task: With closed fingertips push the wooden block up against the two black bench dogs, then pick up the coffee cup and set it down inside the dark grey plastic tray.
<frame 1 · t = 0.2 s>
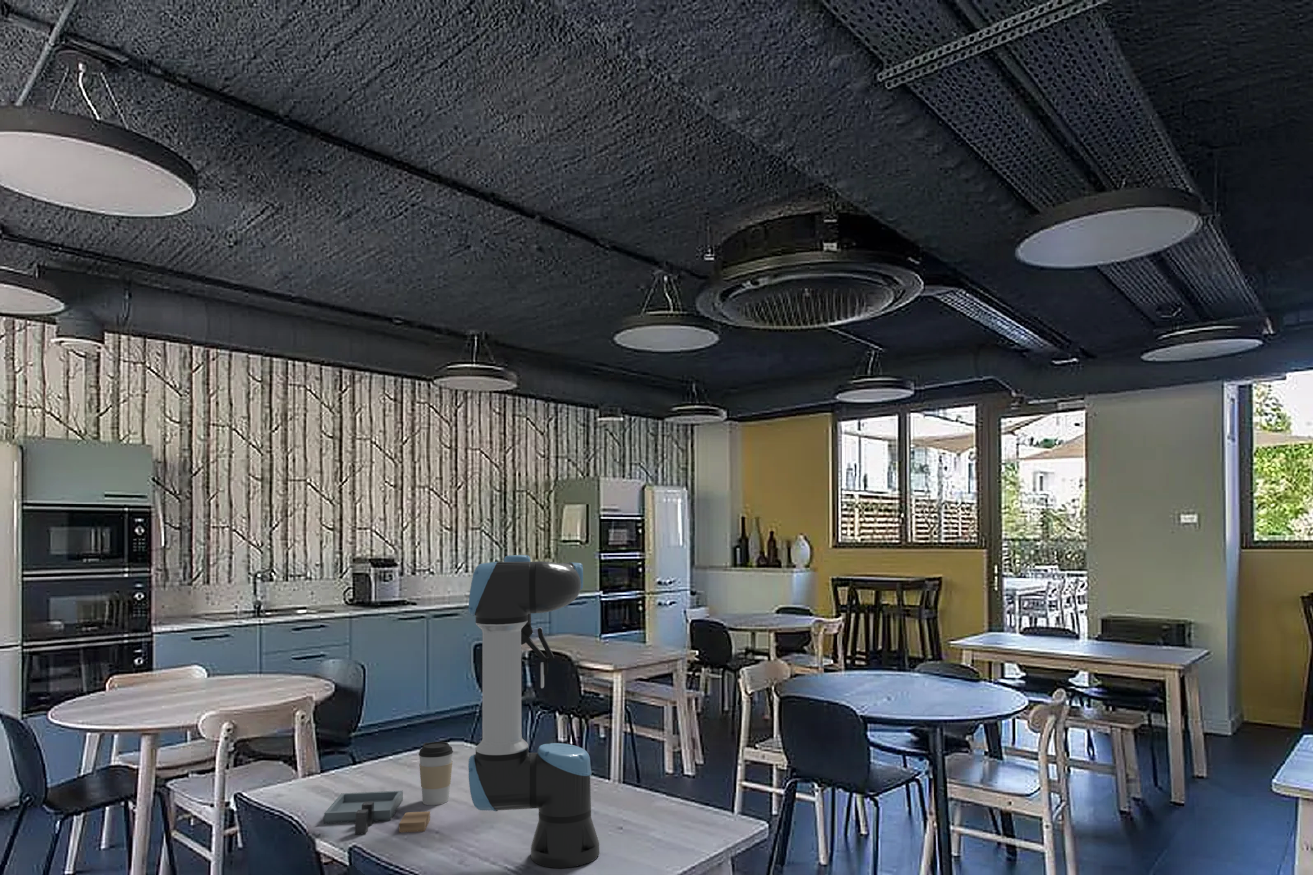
hand: (517, 688, 244), 28 cm above the table, fingers open, 13 cm apart
coffee cup: (435, 801, 234), on the table
wooden block: (414, 827, 215), on the table
bench dogs: (364, 828, 214), on the table
tray: (364, 811, 227), on the table
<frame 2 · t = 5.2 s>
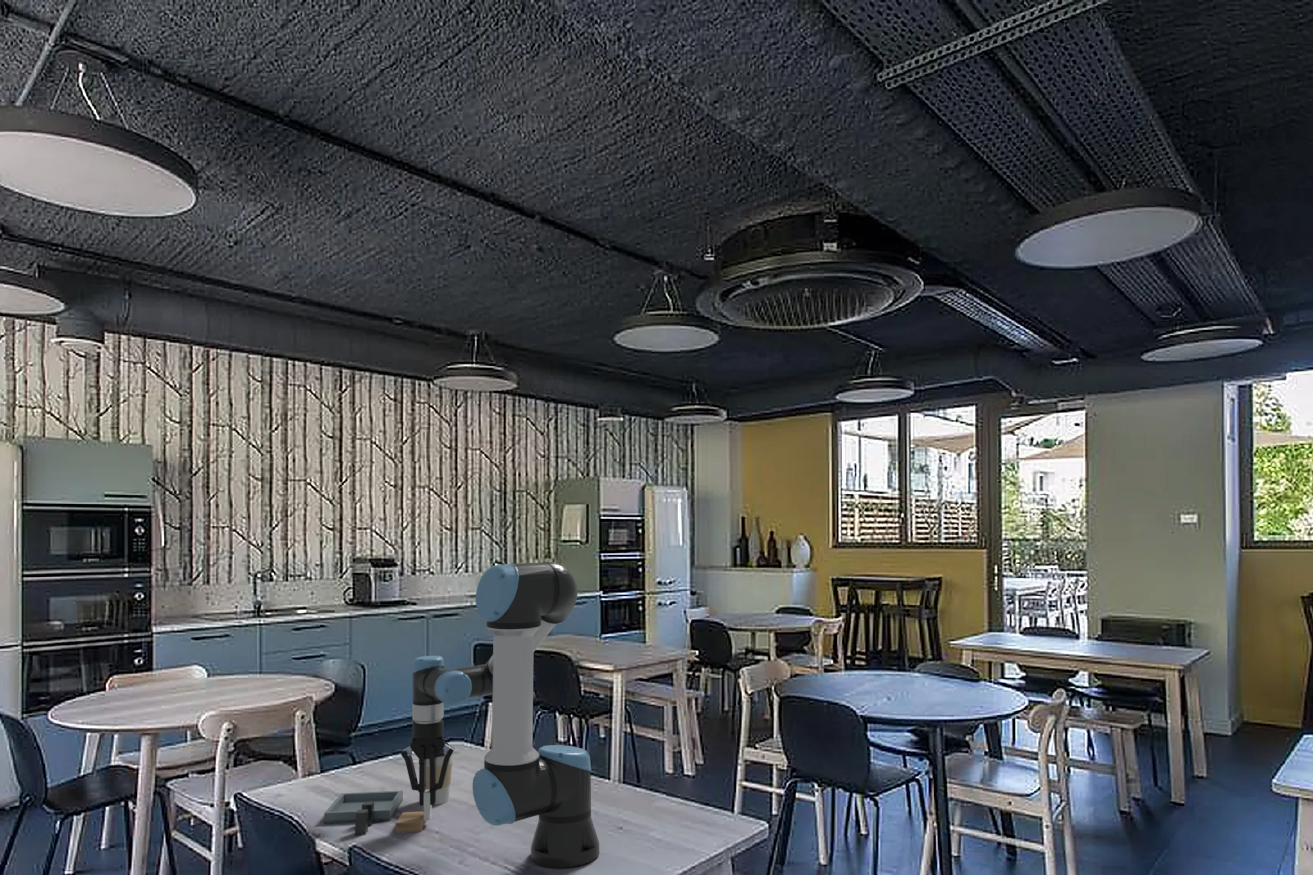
hand: (427, 818, 216), 2 cm above the table, fingers closed
nothing on the table moved.
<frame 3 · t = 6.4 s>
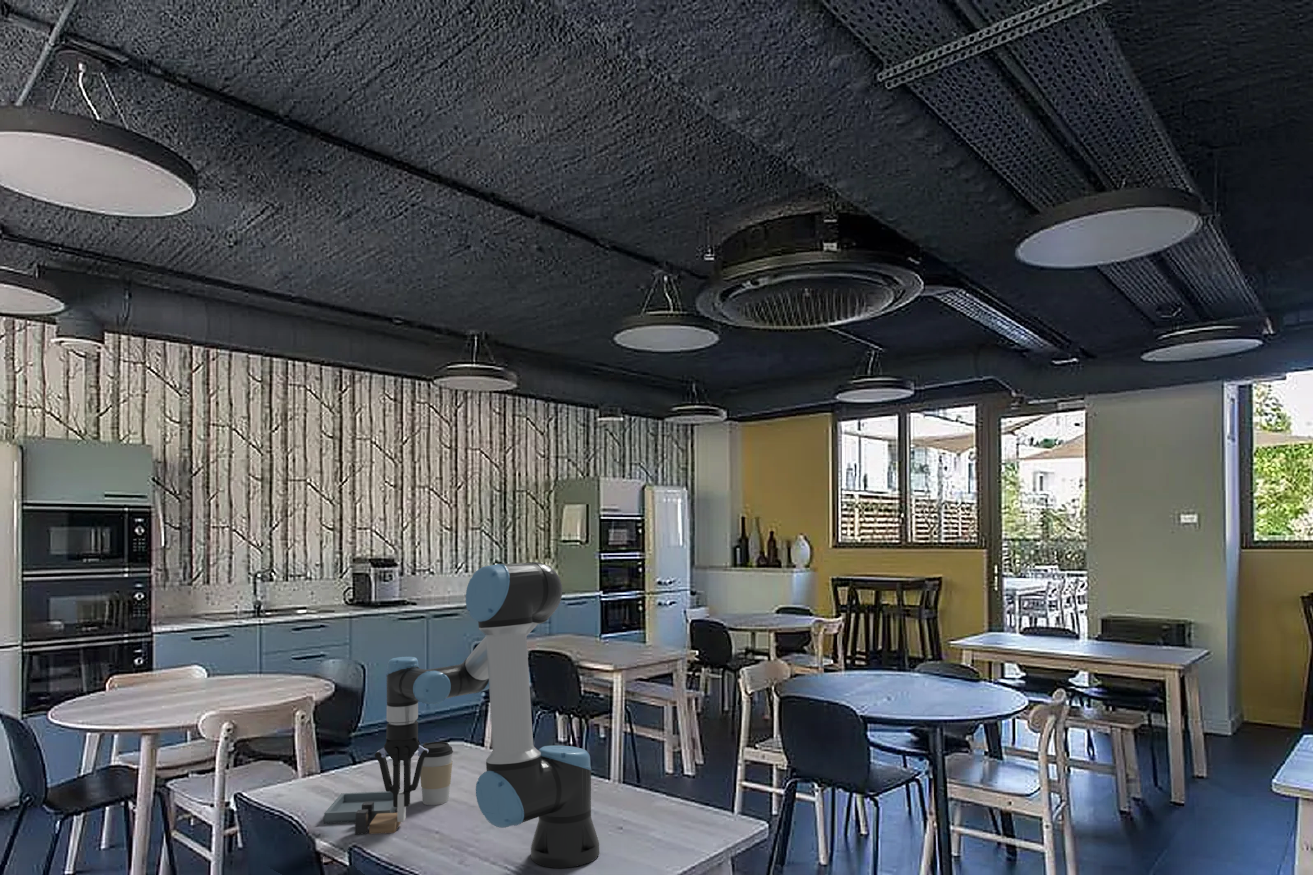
hand: (401, 820, 215), 2 cm above the table, fingers closed
wooden block: (385, 829, 215), on the table
everything else where it was.
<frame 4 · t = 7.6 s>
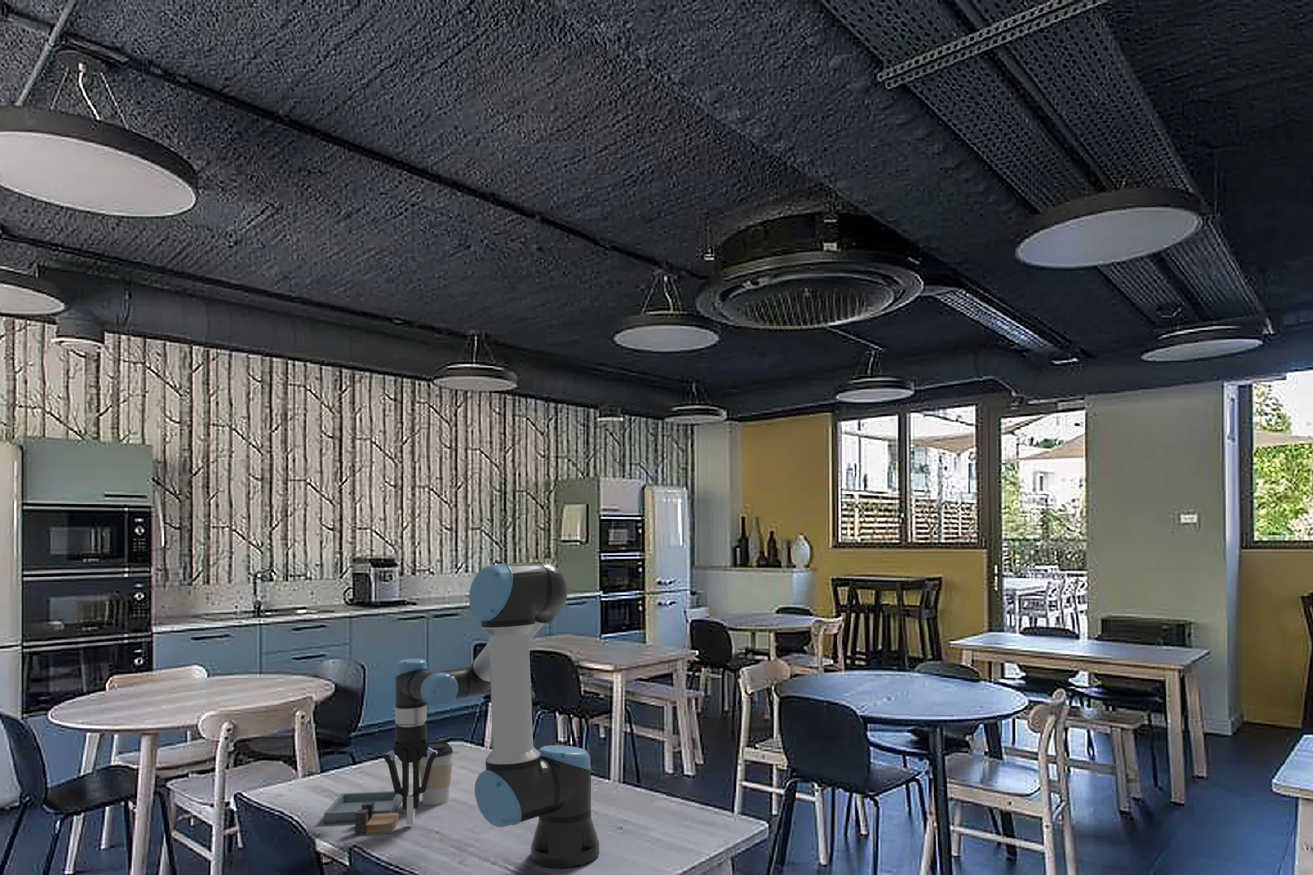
hand: (410, 822, 215), 1 cm above the table, fingers closed
nothing on the table moved.
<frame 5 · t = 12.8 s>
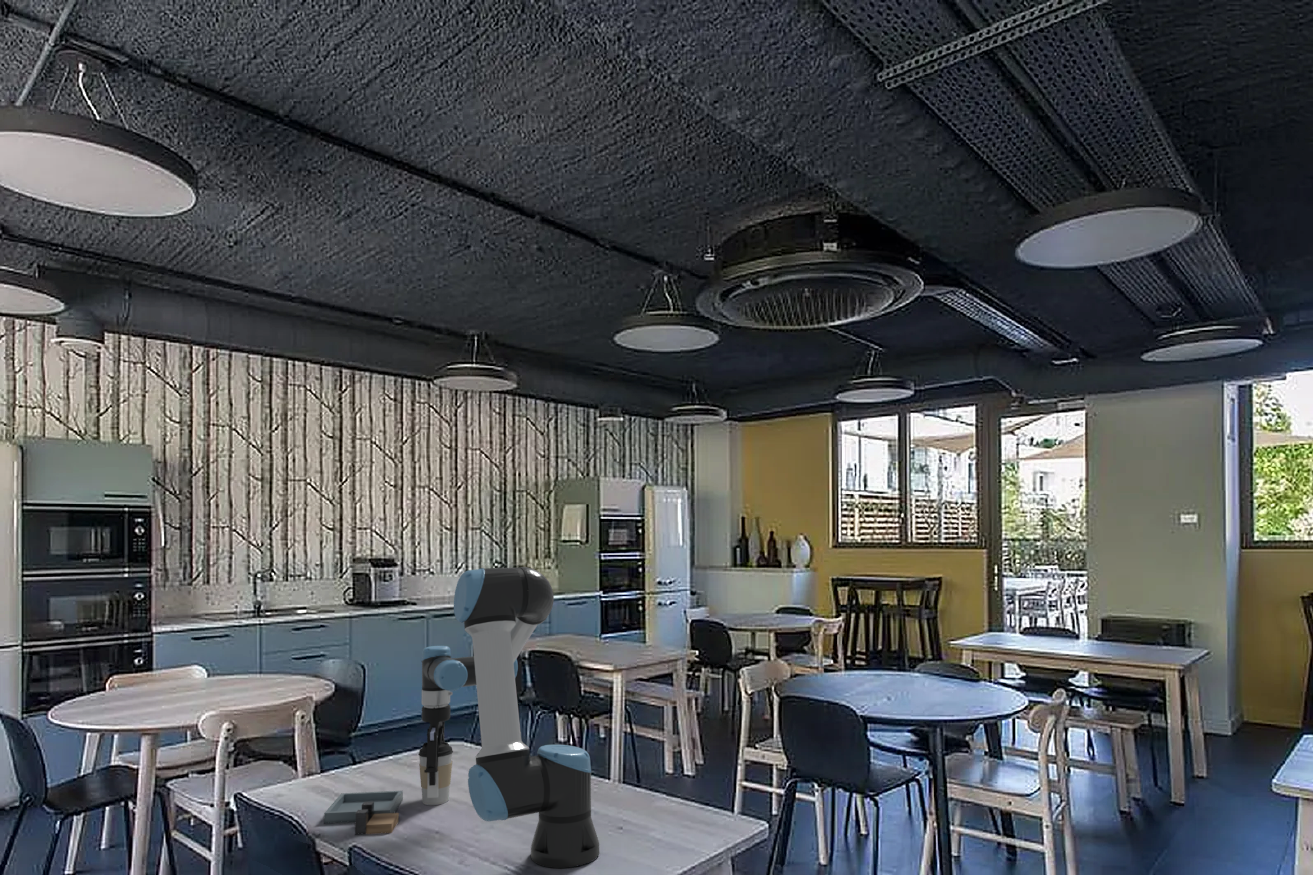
hand: (435, 791, 234), 2 cm above the table, fingers closed on coffee cup, 9 cm apart
coffee cup: (435, 801, 234), on the table, touching gripper
everything else where it was.
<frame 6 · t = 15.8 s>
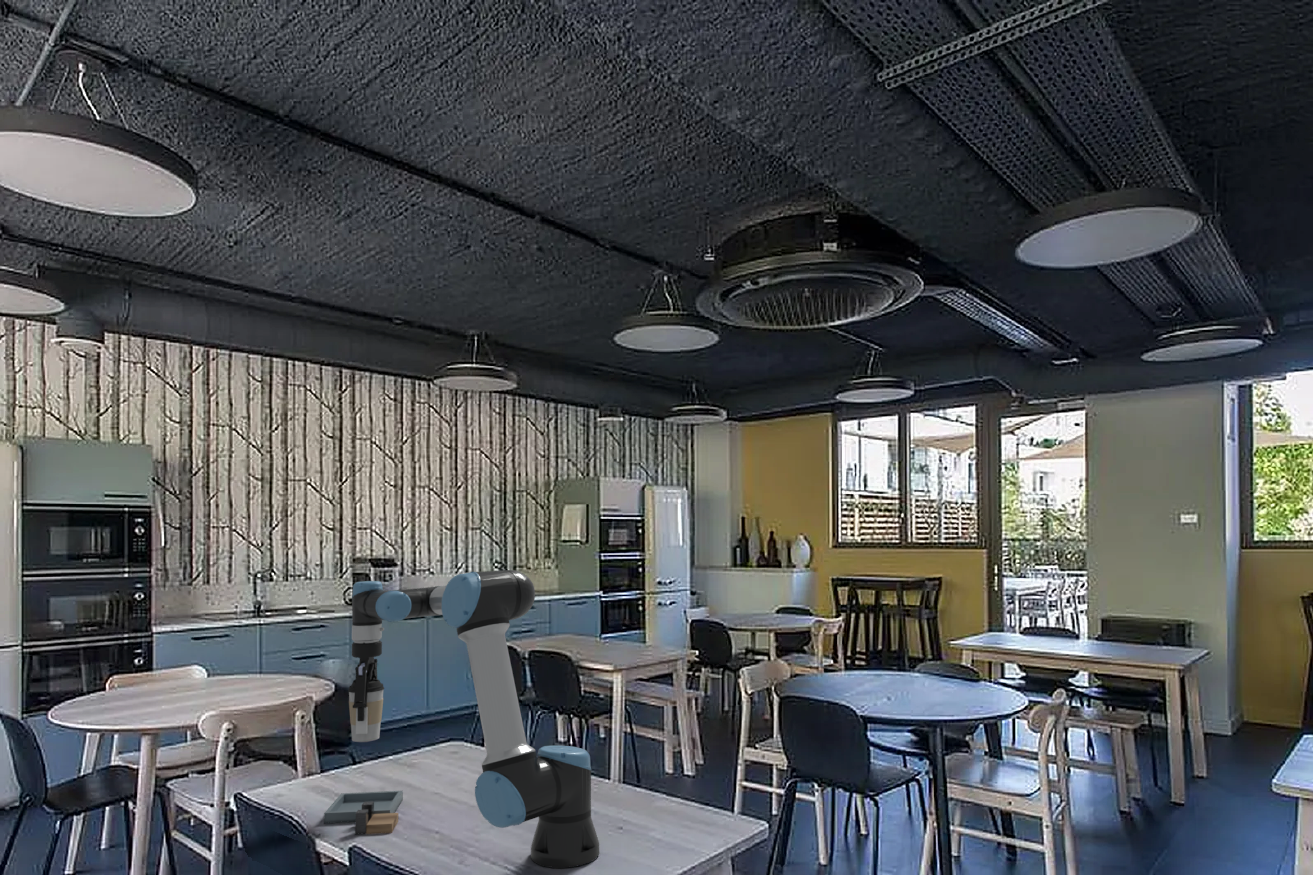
hand: (365, 729, 229), 21 cm above the table, fingers closed on coffee cup, 9 cm apart
coffee cup: (365, 739, 228), point 18 cm above the table, touching gripper
everything else where it was.
when the fingers open (5 cm above the table, at t = 19.1 s): coffee cup drops 2 cm, resting on tray.
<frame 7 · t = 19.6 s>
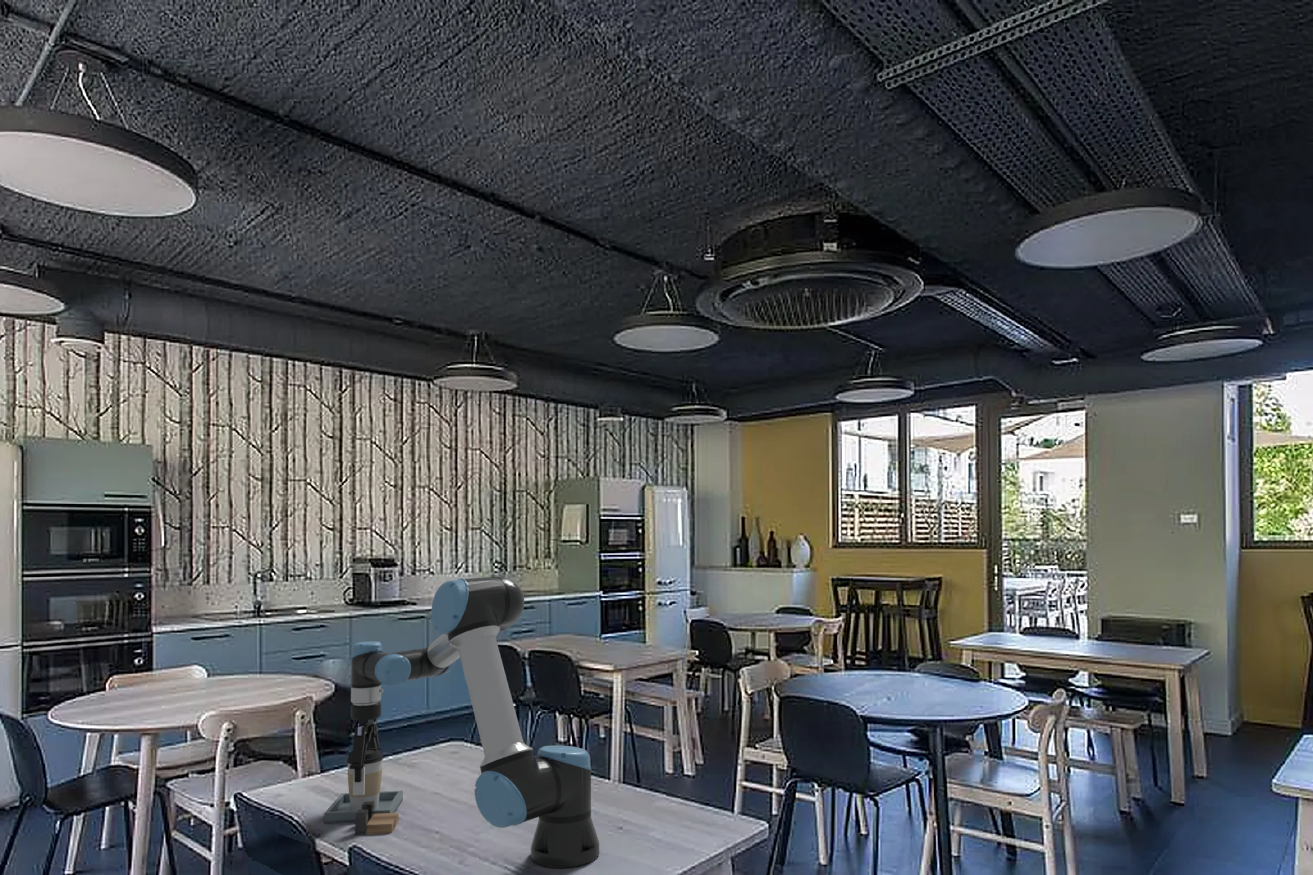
hand: (365, 786, 227), 6 cm above the table, fingers open, 13 cm apart
coffee cup: (364, 810, 226), resting on tray
everything else where it was.
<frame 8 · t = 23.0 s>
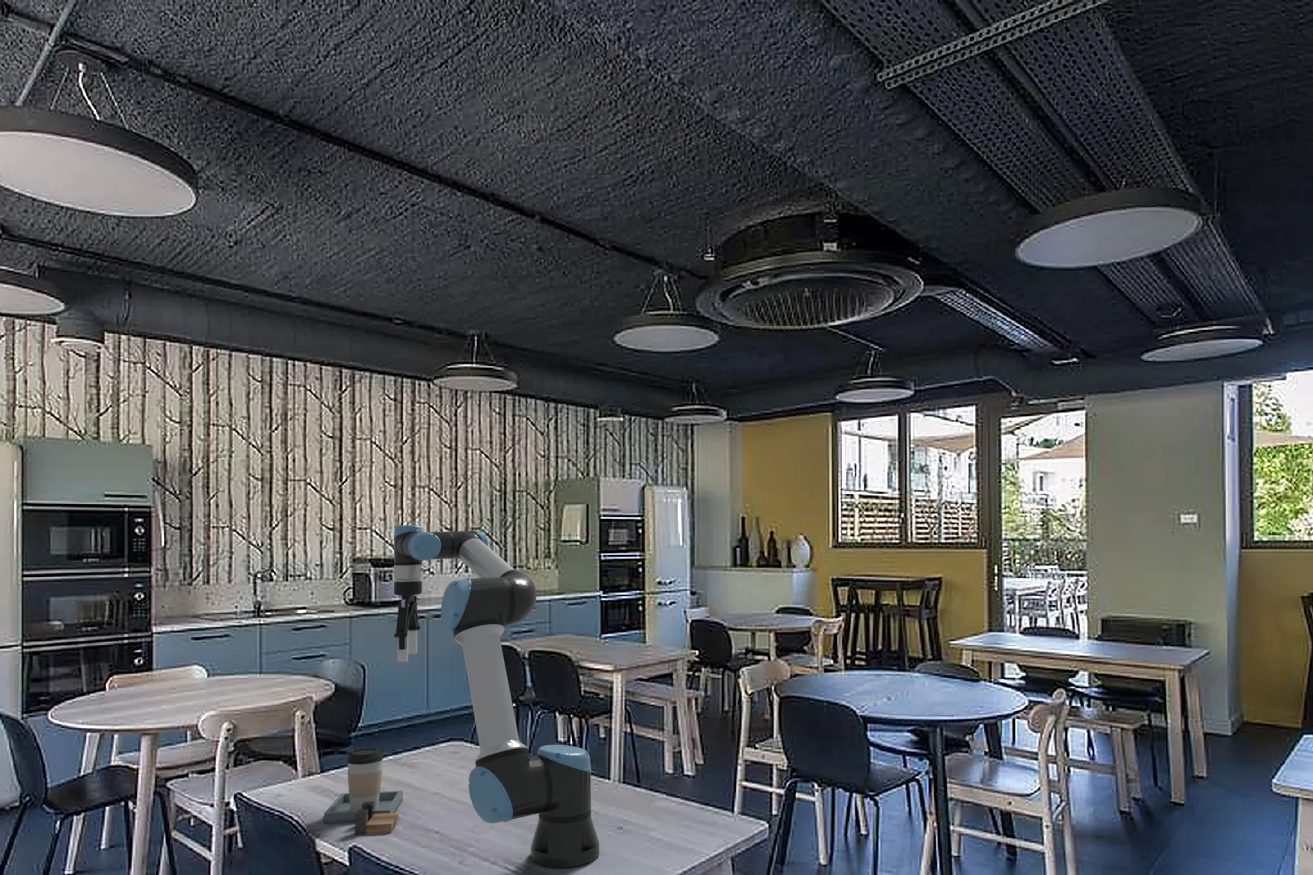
hand: (407, 657, 244), 37 cm above the table, fingers open, 13 cm apart
nothing on the table moved.
at the end: wooden block 0.5 cm from the target spot on the table beside the bench dogs, on the table; coffee cup inside the target area on the tray (0.5 cm from its centre), point 0.4 cm above the tray's base; coffee cup tilted 0° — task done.
